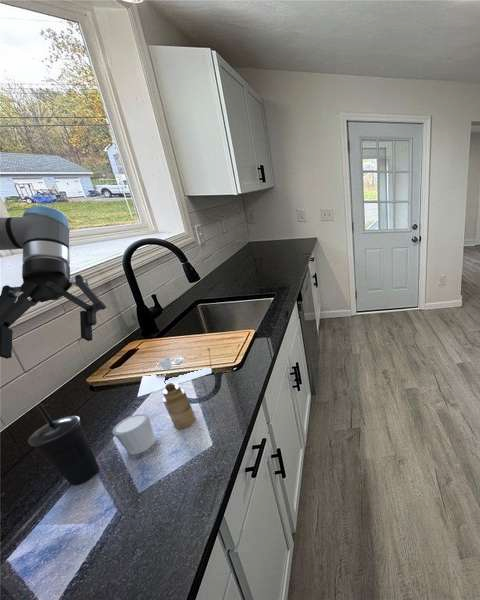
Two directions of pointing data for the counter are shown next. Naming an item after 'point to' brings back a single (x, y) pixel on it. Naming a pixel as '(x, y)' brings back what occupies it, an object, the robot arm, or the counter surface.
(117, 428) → the white short cylinder
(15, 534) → the counter surface
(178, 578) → the counter surface
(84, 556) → the counter surface
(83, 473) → the drinking cup
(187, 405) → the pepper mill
